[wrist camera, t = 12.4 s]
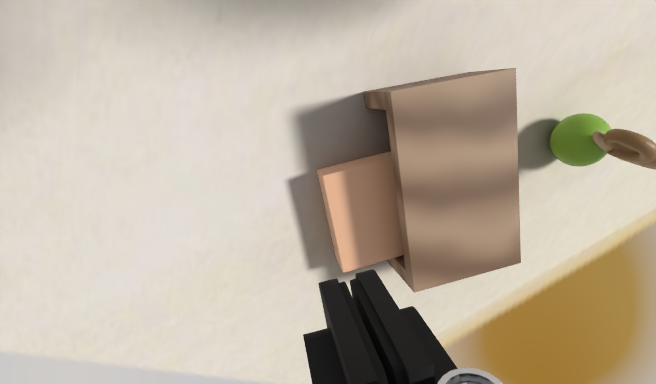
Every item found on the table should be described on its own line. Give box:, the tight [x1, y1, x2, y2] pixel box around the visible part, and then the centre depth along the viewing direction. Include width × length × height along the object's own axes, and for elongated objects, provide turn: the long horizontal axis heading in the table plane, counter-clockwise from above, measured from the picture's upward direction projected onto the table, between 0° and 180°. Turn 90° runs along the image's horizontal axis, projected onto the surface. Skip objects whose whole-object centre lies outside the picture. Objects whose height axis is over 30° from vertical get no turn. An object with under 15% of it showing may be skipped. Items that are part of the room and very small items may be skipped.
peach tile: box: [317, 151, 404, 273], centre depth 38 cm, size 10×14×4 cm
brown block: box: [364, 68, 521, 292], centre depth 36 cm, size 18×11×7 cm, turn 9°
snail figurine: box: [550, 114, 656, 169], centre depth 36 cm, size 5×6×12 cm
